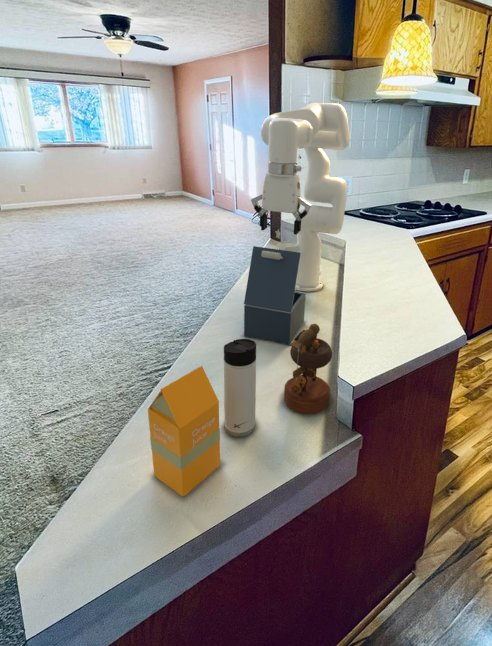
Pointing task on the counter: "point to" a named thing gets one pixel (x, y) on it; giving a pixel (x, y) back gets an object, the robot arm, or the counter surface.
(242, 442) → the counter surface
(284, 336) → the box
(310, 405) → the music box
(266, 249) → the lid
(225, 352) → the travel mug
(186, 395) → the orange juice
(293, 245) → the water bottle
